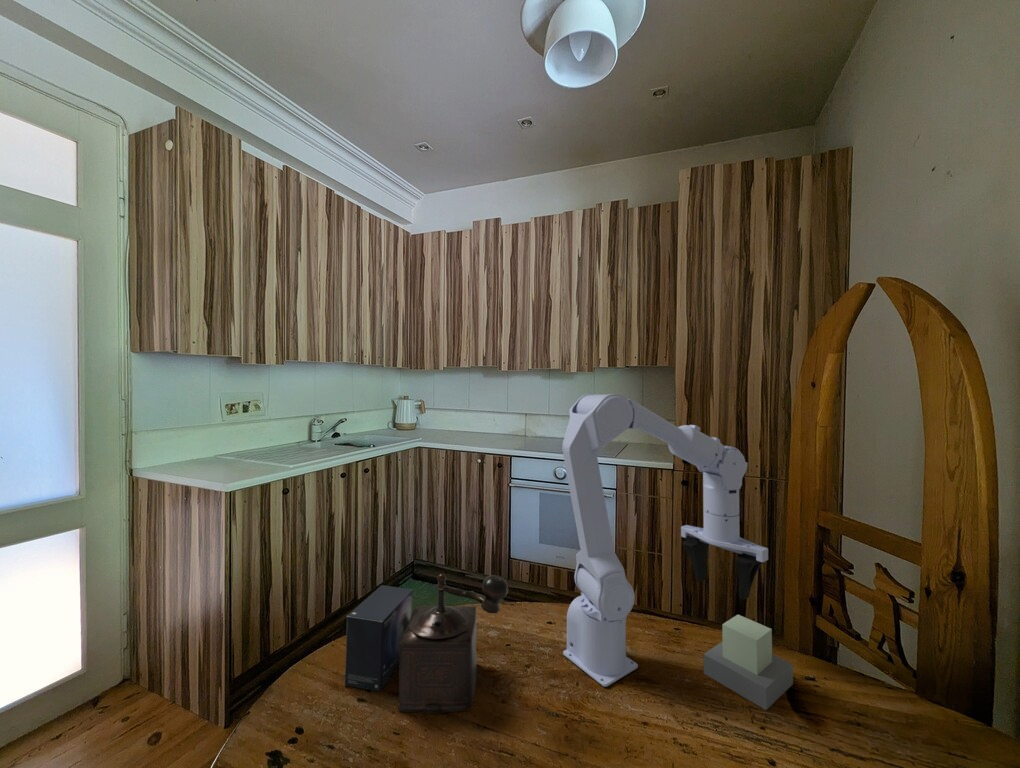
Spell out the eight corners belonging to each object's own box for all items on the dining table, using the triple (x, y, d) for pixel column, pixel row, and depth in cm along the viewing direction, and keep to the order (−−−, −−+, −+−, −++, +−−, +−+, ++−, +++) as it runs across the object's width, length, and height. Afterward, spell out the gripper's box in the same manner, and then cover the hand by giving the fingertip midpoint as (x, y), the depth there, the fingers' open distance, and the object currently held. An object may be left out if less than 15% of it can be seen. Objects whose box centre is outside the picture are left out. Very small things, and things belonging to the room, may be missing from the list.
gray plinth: (703, 673, 63) (703, 654, 63) (732, 652, 68) (732, 634, 68) (766, 710, 56) (765, 688, 56) (793, 683, 61) (792, 663, 61)
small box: (382, 693, 59) (383, 621, 59) (342, 687, 60) (343, 616, 60) (413, 649, 69) (414, 587, 69) (379, 644, 70) (380, 583, 71)
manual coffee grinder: (394, 716, 55) (395, 583, 55) (413, 662, 66) (415, 551, 66) (508, 717, 55) (508, 583, 55) (508, 662, 66) (508, 551, 66)
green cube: (722, 656, 63) (722, 624, 63) (738, 645, 66) (737, 614, 66) (757, 675, 59) (756, 640, 59) (772, 662, 61) (771, 629, 62)
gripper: (775, 518, 68) (776, 599, 68) (695, 499, 80) (695, 568, 80) (756, 526, 64) (757, 611, 64) (674, 505, 76) (674, 577, 76)
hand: (721, 588), depth 72 cm, fingers open, 7 cm apart
